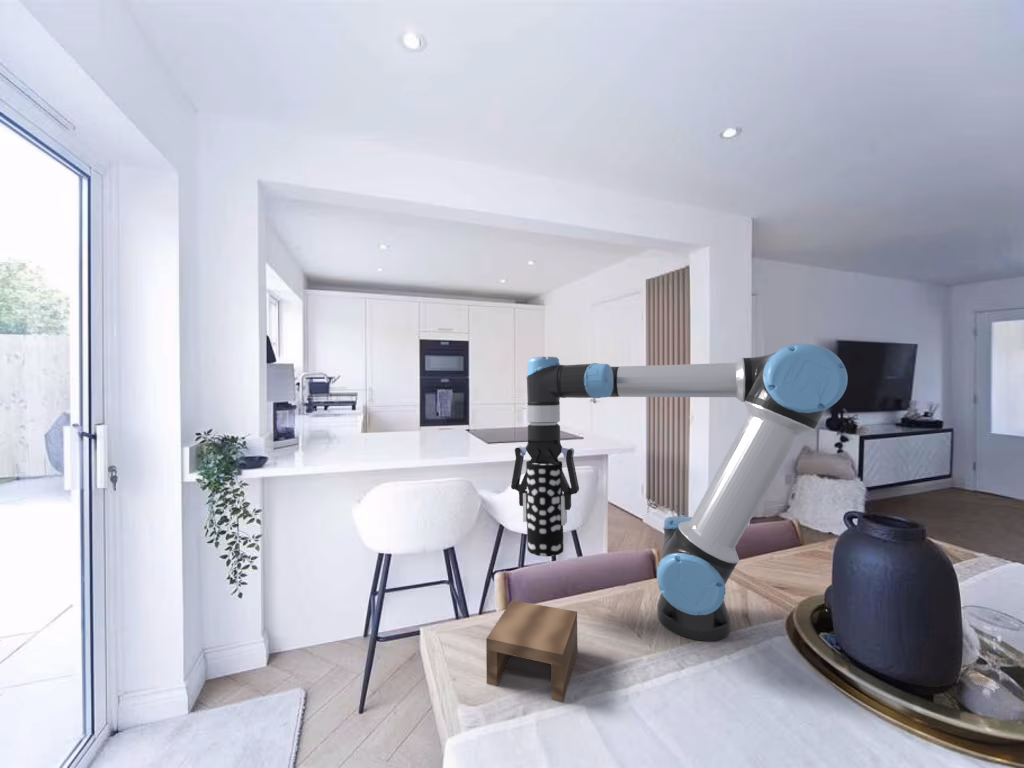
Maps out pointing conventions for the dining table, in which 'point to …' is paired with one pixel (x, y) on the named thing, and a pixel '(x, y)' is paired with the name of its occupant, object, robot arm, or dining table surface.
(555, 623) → the wooden bridge block
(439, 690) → the dining table surface
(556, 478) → the spotted tube
